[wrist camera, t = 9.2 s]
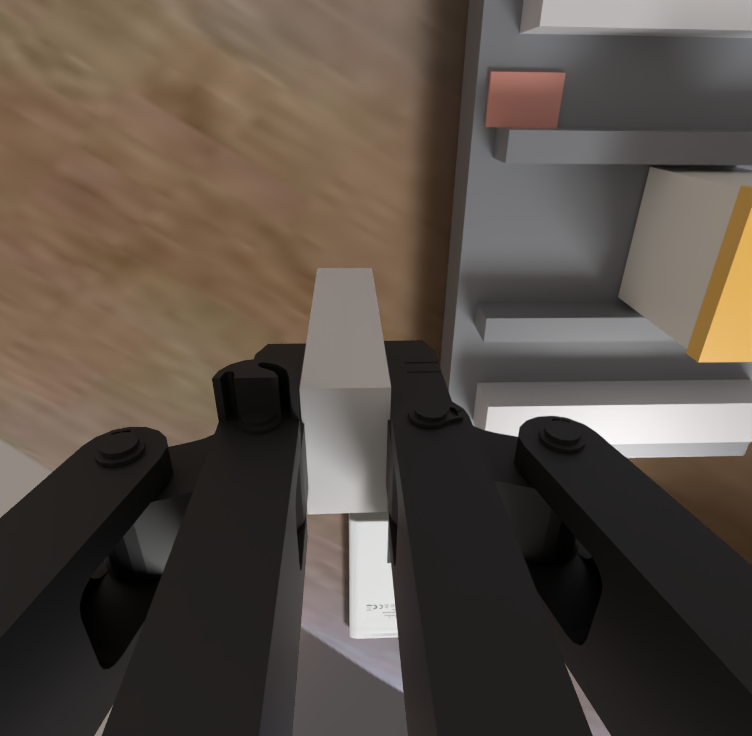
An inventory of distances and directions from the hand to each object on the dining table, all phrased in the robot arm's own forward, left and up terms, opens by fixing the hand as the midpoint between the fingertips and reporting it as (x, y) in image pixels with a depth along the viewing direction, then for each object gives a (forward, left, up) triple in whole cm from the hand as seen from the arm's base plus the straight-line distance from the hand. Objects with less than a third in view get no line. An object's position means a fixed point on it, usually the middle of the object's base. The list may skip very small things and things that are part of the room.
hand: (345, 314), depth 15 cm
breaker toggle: (-15, 0, -10) cm, 18 cm away
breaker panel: (-14, 0, -13) cm, 19 cm away
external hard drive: (-4, +26, -14) cm, 29 cm away
